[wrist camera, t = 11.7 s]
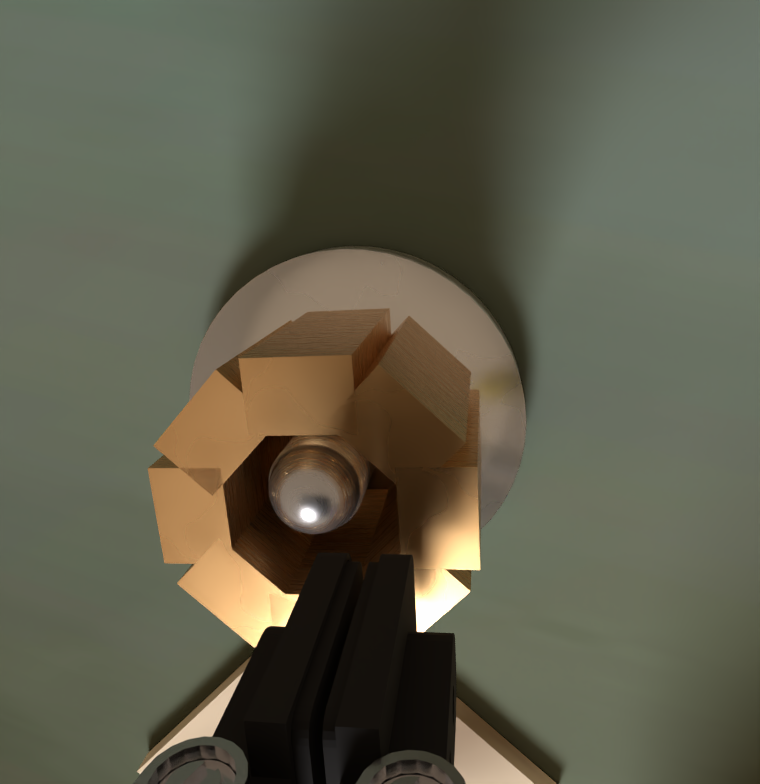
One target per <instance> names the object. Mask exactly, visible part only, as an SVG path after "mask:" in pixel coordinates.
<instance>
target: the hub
mask: <svg viewBox="0 0 760 784" xmlns="http://www.w3.org/2000/svg"><path fill="white" fill-rule="evenodd" d="M384 308H390V321H391V334H392V333H393V332H394V331H395V330H396V329H397V328H398V327H399V326H400V325H401V323H402V322H403V321H404V320H405V319H406V318H407V317H408V316H410V317H411V318H412V319H414V320H415V321H416V322H417V323H418V324H419V325H420V326H421V327H422V328H423V329H425V330H426V331H427V332H428V333H429V334H430V335H431V336H432V337H433V338H435V339H436V340H437V341H438V342H439V343H440V344H441V345H442V346H443V347H444V348H446V349H447V350H448V351H449V352H450V353H451V354H452V355H453V356H454V357H455V358H457V359H458V360H459V361H460V362H461V363H462V364H463V365H464V366H465V367H466V368H468V369H469V370H470V371H471V379H470V390H479V393H480V432H481V529H482V528H483V527H484V526H485V525H486V524H487V523H488V522H489V521H490V520H491V518H492V517H493V516H494V514H495V513H496V512H497V510H498V509H499V508H500V506H501V505H502V503H503V502H504V500H505V498H506V496H507V494H508V493H509V491H510V489H511V487H512V485H513V483H514V480H515V477H516V475H517V472H518V469H519V467H520V463H521V459H522V454H523V450H524V445H525V434H526V410H525V398H524V393H523V388H522V383H521V378H520V374H519V369H518V365H517V362H516V359H515V357H514V354H513V351H512V348H511V346H510V344H509V342H508V340H507V338H506V336H505V334H504V332H503V330H502V328H501V326H500V325H499V324H498V322H497V321H496V319H495V318H494V317H493V315H492V314H491V312H490V311H489V309H488V308H487V307H486V306H485V305H484V304H483V303H482V302H481V301H480V300H479V298H478V297H477V296H476V295H475V294H474V293H473V292H472V291H471V290H470V289H468V288H467V287H466V286H465V285H463V284H462V283H461V282H460V281H459V280H457V279H456V278H455V277H453V276H452V275H450V274H448V273H447V272H445V271H444V270H442V269H440V268H439V267H437V266H436V265H433V264H431V263H429V262H427V261H424V260H422V259H420V258H418V257H416V256H413V255H409V254H406V253H402V252H399V251H396V250H392V249H385V248H379V247H372V246H343V247H334V248H326V249H323V250H319V251H315V252H311V253H307V254H304V255H301V256H298V257H295V258H293V259H290V260H288V261H285V262H283V263H281V264H278V265H276V266H273V267H272V268H270V269H268V270H267V271H265V272H263V273H262V274H260V275H258V276H256V277H255V278H253V279H252V280H251V281H250V282H248V283H247V284H246V285H245V286H243V287H242V288H241V289H240V290H238V291H237V292H236V293H235V294H234V295H233V296H232V298H231V299H230V300H229V301H228V302H227V303H226V304H225V305H224V306H223V307H222V309H221V310H220V312H219V313H218V314H217V316H216V317H215V319H214V320H213V322H212V323H211V324H210V326H209V328H208V330H207V332H206V334H205V336H204V338H203V340H202V342H201V345H200V348H199V351H198V354H197V357H196V360H195V363H194V368H193V373H192V378H191V384H190V400H191V399H192V398H193V396H194V395H195V394H196V393H197V392H198V390H199V389H200V388H201V387H202V385H203V384H204V383H205V382H206V381H207V379H208V378H209V377H210V376H211V374H212V373H213V372H214V371H215V370H216V369H217V368H219V367H220V366H222V365H223V364H225V363H226V362H228V361H229V360H231V359H232V358H234V357H235V356H237V355H238V354H240V353H241V352H243V351H244V350H246V349H247V348H249V347H250V346H252V345H254V344H255V343H257V342H258V341H260V340H261V339H263V338H264V337H266V336H267V335H269V334H270V333H272V332H273V331H275V330H276V329H278V328H279V327H281V326H282V325H284V324H285V323H287V322H288V321H290V320H291V321H292V322H293V321H295V320H296V319H298V318H299V317H301V316H302V315H304V314H305V313H307V312H313V311H337V310H361V309H384ZM393 484H394V482H392V481H391V480H390V479H389V478H388V477H387V476H386V475H384V474H383V473H382V472H381V471H380V470H379V469H378V468H376V467H375V466H374V465H373V464H372V463H371V462H370V461H369V460H367V459H366V458H365V457H364V456H363V455H362V454H361V453H359V452H358V451H357V450H356V449H355V448H354V447H353V446H351V445H350V444H349V443H348V442H347V441H346V440H345V439H343V438H342V437H341V436H340V435H294V436H293V438H292V439H291V440H290V441H289V443H288V444H287V445H286V447H285V448H284V449H283V450H282V452H281V453H280V454H279V456H278V457H277V458H276V459H275V461H274V463H273V464H272V467H271V469H270V473H269V497H270V501H271V504H272V507H273V509H274V511H275V512H276V514H277V516H278V517H279V518H280V519H281V520H282V521H283V522H284V523H285V524H286V525H288V526H289V527H291V528H292V529H294V530H297V531H299V532H302V533H307V534H321V533H326V532H330V531H332V530H334V529H336V528H338V527H340V526H342V525H343V524H345V523H347V522H348V521H349V520H350V519H351V518H352V517H353V516H354V515H355V514H356V512H357V511H358V509H359V507H360V504H361V502H362V499H363V497H364V494H365V492H366V489H389V488H390V487H391V486H392V485H393Z"/></svg>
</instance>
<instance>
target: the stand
mask: <svg viewBox="0 0 760 784" xmlns="http://www.w3.org/2000/svg"><path fill="white" fill-rule="evenodd" d="M251 656H252V655H251ZM251 656H250V657H249V658H248V659H247V660H246V661H245V662H244V663H243V664H242V665H241V666H240V667H239V668H238V669H237V670H236V671H234V672H233V673H232V674H231V675H230V676H229V677H228V678H227V679H226V680H225V681H224V682H223V683H222V684H221V685H220V686H219V687H217V688H216V689H215V690H214V691H213V692H212V693H211V694H210V695H209V696H208V697H207V698H206V699H205V700H204V701H203V702H202V703H201V704H199V705H198V706H197V707H196V708H195V709H194V710H193V711H192V712H191V713H190V714H189V715H188V716H187V717H186V718H185V719H184V720H182V721H181V722H180V723H179V724H178V725H177V726H176V727H175V728H174V729H173V730H172V731H171V732H170V733H169V734H168V735H167V736H165V737H164V738H163V739H162V740H161V741H160V742H159V743H158V744H157V745H156V746H155V747H154V748H153V749H152V750H151V751H150V752H149V753H148V754H147V756H146V757H145V759H144V761H143V762H142V764H141V766H140V767H139V769H138V771H137V772H138V773H140V774H141V773H142V771H143V770H144V769H145V768H146V767H147V766H148V765H149V764H150V763H151V761H152V760H153V759H154V758H155V757H156V756H158V755H159V754H161V753H162V752H164V751H165V750H167V749H168V748H170V747H171V746H173V745H176V744H178V743H180V742H183V741H185V740H188V739H193V738H198V737H204V736H207V737H212V736H213V734H214V732H215V730H216V728H217V726H218V724H219V722H220V720H221V718H222V716H223V713H224V711H225V709H226V707H227V705H228V703H229V701H230V699H231V697H232V695H233V693H234V691H235V689H236V687H237V685H238V683H239V681H240V679H241V676H242V674H243V672H244V670H245V668H246V666H247V664H248V662H249V660H250V658H251ZM454 766H455V768H456V769H457V770H458V772H459V773H460V774H461V775H462V777H463V778H464V780H465V783H466V784H557V783H556V782H554V781H553V780H552V779H551V778H550V777H549V776H547V775H546V774H545V773H544V772H543V771H542V770H541V769H539V768H538V767H537V766H536V765H535V764H534V763H532V762H531V761H530V760H529V759H528V758H527V757H526V756H524V755H523V754H522V753H521V752H520V751H519V750H517V749H516V748H515V747H514V746H513V745H512V744H510V743H509V742H508V741H507V740H506V739H505V738H504V737H502V736H501V735H500V734H499V733H498V732H497V731H495V730H494V729H493V728H492V727H491V726H490V725H489V724H487V723H486V722H485V721H484V720H483V719H482V718H480V717H479V716H478V715H477V714H476V713H475V712H474V711H472V710H471V709H470V708H469V707H468V706H467V705H465V704H464V703H463V702H462V701H461V700H460V699H458V698H457V697H456V734H455V757H454Z"/></svg>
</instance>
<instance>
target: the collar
mask: <svg viewBox="0 0 760 784" xmlns="http://www.w3.org/2000/svg"><path fill="white" fill-rule="evenodd" d="M470 379H471V371H470V370H469V369H468V368H466V367H465V366H464V365H463V364H462V363H461V362H460V361H459V360H458V359H457V358H455V357H454V356H453V355H452V354H451V353H450V352H449V351H448V350H447V349H446V348H444V347H443V346H442V345H441V344H440V343H439V342H438V341H437V340H436V339H435V338H433V337H432V336H431V335H430V334H429V333H428V332H427V331H426V330H425V329H423V328H422V327H421V326H420V325H419V324H418V323H417V322H416V321H415V320H414V319H412V318H411V317H410V316H408V317H407V318H406V319H405V320H404V321H403V322H402V323H401V325H400V326H399V327H398V328H397V329H396V330H395V331H394V332H393V333H392V334H391V321H390V308H384V309H361V310H337V311H313V312H307V313H305V314H304V315H302V316H301V317H299V318H298V319H296V320H295V321H293V322H292V321H291V320H290V321H288V322H287V323H285V324H284V325H282V326H281V327H279V328H278V329H276V330H275V331H273V332H272V333H270V334H269V335H267V336H266V337H264V338H263V339H261V340H260V341H258V342H257V343H255V344H254V345H252V346H250V347H249V348H247V349H246V350H244V351H243V352H241V353H240V354H238V355H237V356H235V357H234V358H232V359H231V360H229V361H228V362H226V363H225V364H223V365H222V366H220V367H219V368H217V369H216V370H215V371H214V372H213V373H212V374H211V376H210V377H209V378H208V379H207V381H206V382H205V383H204V384H203V385H202V387H201V388H200V389H199V390H198V392H197V393H196V394H195V395H194V396H193V398H192V399H191V400H190V401H189V403H188V404H187V405H186V406H185V407H184V409H183V410H182V411H181V412H180V414H179V415H178V416H177V417H176V419H175V420H174V421H173V422H172V423H171V425H170V426H169V427H168V428H167V430H166V431H165V432H164V433H163V434H162V436H161V437H160V438H159V439H158V441H157V442H156V443H155V444H154V445H153V446H154V447H155V448H157V449H158V450H159V451H160V452H161V453H162V454H164V455H163V456H162V457H161V458H160V459H159V460H157V461H156V462H155V463H154V464H152V465H151V466H150V467H149V468H148V472H149V477H150V483H151V489H152V494H153V500H154V506H155V512H156V517H157V523H158V529H159V534H160V540H161V546H162V551H163V557H164V563H182V564H192V565H191V566H190V568H189V569H188V570H187V571H186V573H185V574H184V575H183V576H182V578H181V579H180V580H179V582H178V583H177V584H178V585H179V586H181V587H182V588H183V589H184V590H185V591H187V592H188V593H189V594H190V595H191V596H193V597H194V598H195V599H196V600H197V601H199V602H200V603H201V604H202V605H203V606H205V607H206V608H207V609H208V610H209V611H211V612H212V613H213V614H214V615H215V616H217V617H218V618H219V619H220V620H222V621H223V622H224V623H225V624H226V625H228V626H229V627H230V628H231V629H232V630H234V631H235V632H236V633H237V634H238V635H240V636H241V637H242V638H243V639H244V640H246V641H247V642H248V643H249V644H250V645H252V646H253V647H255V646H256V645H257V644H258V641H259V639H260V637H261V635H262V633H263V632H264V630H265V629H266V628H267V627H269V626H283V627H285V626H286V623H287V621H288V619H289V617H290V614H291V612H292V610H293V608H294V605H295V603H296V601H297V599H298V596H299V594H300V592H301V590H302V587H303V585H304V583H305V580H306V578H307V576H308V574H309V571H310V569H311V567H312V565H313V562H314V560H315V558H316V556H317V554H318V553H349V554H350V556H351V560H352V562H361V564H362V571H363V580H364V577H365V573H366V570H367V567H368V564H369V562H379V559H380V556H381V554H405V555H412V556H413V562H414V580H415V600H416V621H417V632H424V631H425V630H426V629H428V628H429V627H430V626H431V625H432V624H433V623H435V622H436V621H437V620H438V619H439V618H440V617H441V616H443V615H444V614H445V613H446V612H447V611H448V610H450V609H451V608H452V607H453V606H454V605H455V604H456V603H458V602H459V601H460V600H461V599H462V598H463V597H465V596H466V595H467V594H468V593H469V592H470V590H471V570H480V540H481V432H480V393H479V390H470ZM294 435H340V436H341V437H342V438H343V439H345V440H346V441H347V442H348V443H349V444H350V445H351V446H353V447H354V448H355V449H356V450H357V451H358V452H359V453H361V454H362V455H363V456H364V457H365V458H366V459H367V460H369V461H370V462H371V463H372V464H373V465H374V466H375V467H376V468H378V469H379V470H380V471H381V472H382V473H383V474H384V475H386V476H387V477H388V478H389V479H390V480H391V481H392V482H394V484H393V485H392V486H391V487H390V488H389V489H366V492H365V494H364V497H363V499H362V502H361V504H360V507H359V509H358V511H357V512H356V514H355V515H354V516H353V517H352V518H351V519H350V520H349V521H348V522H347V523H345V524H343V525H342V526H340V527H338V528H336V529H334V530H332V531H330V532H326V533H321V534H307V533H302V532H299V531H297V530H294V529H292V528H291V527H289V526H288V525H286V524H285V523H284V522H283V521H282V520H281V519H280V518H279V517H278V516H277V514H276V512H275V511H274V509H273V507H272V504H271V501H270V497H269V473H270V469H271V467H272V464H273V463H274V461H275V459H276V458H277V457H278V456H279V454H280V453H281V452H282V450H283V449H284V448H285V447H286V445H287V444H288V443H289V441H290V440H291V439H292V438H293V436H294Z"/></svg>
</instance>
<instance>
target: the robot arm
mask: <svg viewBox="0 0 760 784" xmlns="http://www.w3.org/2000/svg"><path fill="white" fill-rule="evenodd" d="M455 734H456V654H455V635H454V633H432V632H417V621H416V600H415V580H414V562H413V556H412V555H405V554H381V556H380V559H379V562H369V564H368V567H367V570H366V573H365V577H364V580H363V571H362V564H361V562H352V560H351V556H350V554H349V553H318V554H317V556H316V558H315V560H314V562H313V565H312V567H311V569H310V571H309V574H308V576H307V578H306V580H305V583H304V585H303V587H302V590H301V592H300V594H299V596H298V599H297V601H296V603H295V605H294V608H293V610H292V612H291V614H290V617H289V619H288V621H287V623H286V626H285V627H283V626H269V627H267V628H266V629H265V630H264V632H263V633H262V635H261V637H260V639H259V641H258V644H257V646H256V648H255V650H254V652H253V654H252V656H251V658H250V660H249V662H248V664H247V666H246V668H245V670H244V672H243V674H242V676H241V679H240V681H239V683H238V685H237V687H236V689H235V691H234V693H233V695H232V697H231V699H230V701H229V703H228V705H227V707H226V709H225V711H224V713H223V716H222V718H221V720H220V722H219V724H218V726H217V728H216V730H215V732H214V734H213V736H212V737H207V736H204V737H198V738H193V739H188V740H185V741H183V742H180V743H178V744H176V745H173V746H171V747H170V748H168V749H167V750H165V751H164V752H162V753H161V754H159V755H158V756H156V757H155V758H154V759H153V760H152V761H151V763H150V764H149V765H148V766H147V767H146V768H145V769H144V770H143V771H142V773H141V774H140V775H139V777H138V778H137V779H136V781H135V782H134V783H133V784H466V783H465V780H464V778H463V777H462V775H461V774H460V773H459V772H458V770H457V769H456V768H455V766H454V757H455Z"/></svg>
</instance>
